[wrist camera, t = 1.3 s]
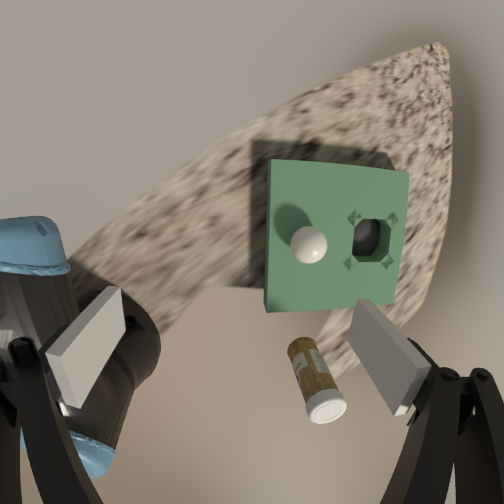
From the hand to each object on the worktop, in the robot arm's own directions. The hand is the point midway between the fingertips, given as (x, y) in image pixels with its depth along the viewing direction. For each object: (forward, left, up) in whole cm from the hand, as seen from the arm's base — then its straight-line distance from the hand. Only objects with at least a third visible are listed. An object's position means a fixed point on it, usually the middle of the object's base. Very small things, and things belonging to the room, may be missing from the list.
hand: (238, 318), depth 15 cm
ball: (+8, 0, -15) cm, 17 cm away
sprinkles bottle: (+10, -17, -20) cm, 28 cm away
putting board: (+13, 0, -20) cm, 24 cm away
